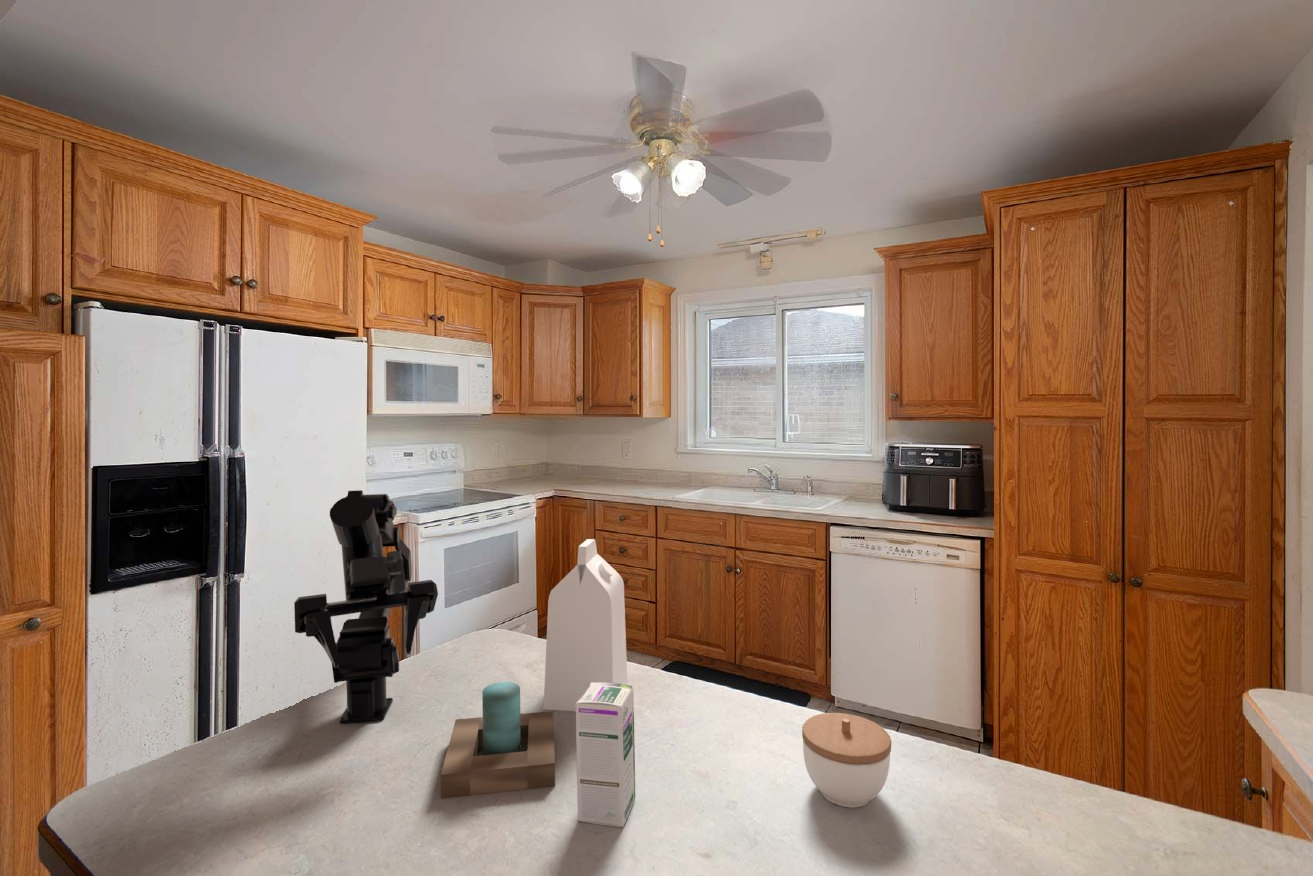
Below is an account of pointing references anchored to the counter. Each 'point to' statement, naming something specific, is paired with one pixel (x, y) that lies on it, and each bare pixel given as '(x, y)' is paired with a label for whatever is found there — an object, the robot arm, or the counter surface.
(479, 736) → the walnut socket block
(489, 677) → the counter surface
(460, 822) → the counter surface
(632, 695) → the syrup box
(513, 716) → the teal peg
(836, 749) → the lidded jar
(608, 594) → the milk
